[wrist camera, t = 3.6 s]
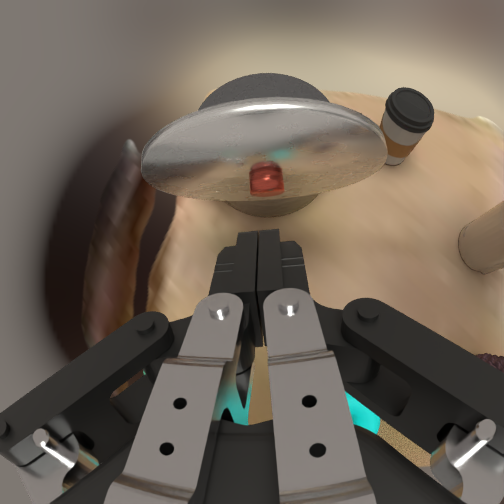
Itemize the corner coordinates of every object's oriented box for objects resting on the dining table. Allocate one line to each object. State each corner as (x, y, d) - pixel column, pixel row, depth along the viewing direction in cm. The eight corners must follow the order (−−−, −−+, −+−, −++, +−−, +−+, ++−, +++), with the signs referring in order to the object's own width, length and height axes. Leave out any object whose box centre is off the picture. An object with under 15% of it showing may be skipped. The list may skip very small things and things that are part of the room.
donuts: (377, 456, 32) (306, 460, 33) (362, 434, 42) (302, 436, 43) (386, 390, 34) (312, 393, 35) (367, 378, 44) (307, 380, 45)
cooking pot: (184, 224, 53) (159, 198, 42) (189, 124, 58) (171, 86, 47) (362, 211, 50) (381, 180, 39) (340, 111, 56) (348, 70, 44)
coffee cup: (400, 178, 51) (431, 134, 37) (362, 156, 53) (381, 106, 38) (413, 148, 52) (441, 102, 38) (377, 127, 54) (396, 77, 39)
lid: (186, 199, 42) (187, 223, 42) (91, 128, 18) (86, 171, 18) (353, 185, 40) (356, 210, 39) (424, 96, 16) (437, 141, 16)
